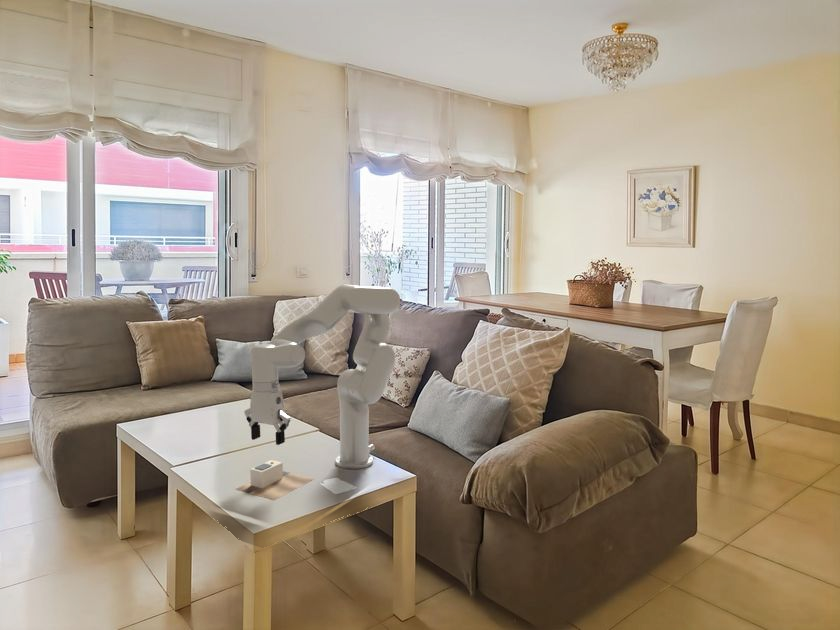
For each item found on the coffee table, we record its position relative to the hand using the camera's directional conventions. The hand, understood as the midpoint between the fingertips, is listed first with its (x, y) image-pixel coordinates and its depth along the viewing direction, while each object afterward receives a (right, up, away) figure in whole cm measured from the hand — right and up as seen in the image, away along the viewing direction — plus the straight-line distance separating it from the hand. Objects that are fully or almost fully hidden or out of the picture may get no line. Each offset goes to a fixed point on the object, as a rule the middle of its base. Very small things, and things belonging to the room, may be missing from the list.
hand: (268, 441), depth 186 cm
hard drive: (+20, -15, 0) cm, 25 cm away
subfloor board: (+2, -14, 0) cm, 14 cm away
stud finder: (-1, -13, +1) cm, 13 cm away
